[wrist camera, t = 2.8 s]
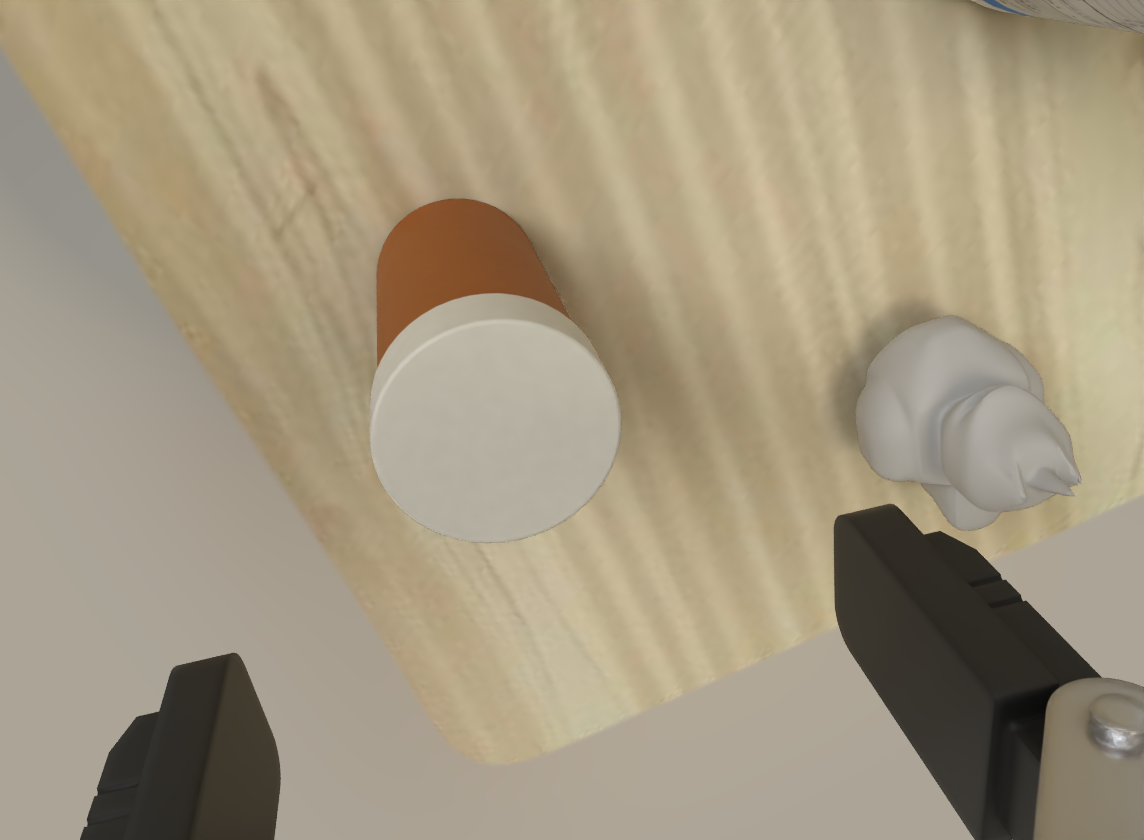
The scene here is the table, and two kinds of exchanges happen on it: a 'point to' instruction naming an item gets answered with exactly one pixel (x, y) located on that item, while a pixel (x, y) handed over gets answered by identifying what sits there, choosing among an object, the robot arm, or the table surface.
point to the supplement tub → (1078, 11)
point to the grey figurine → (963, 423)
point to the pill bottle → (483, 381)
